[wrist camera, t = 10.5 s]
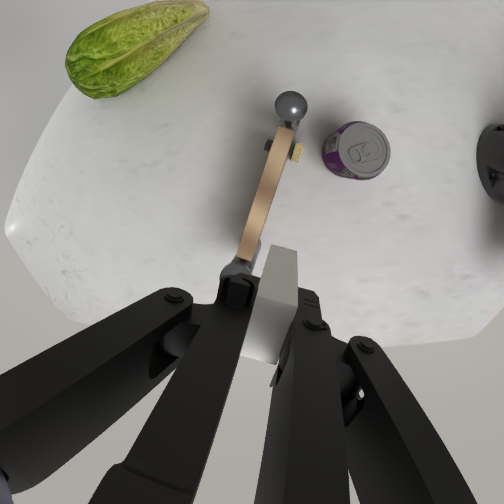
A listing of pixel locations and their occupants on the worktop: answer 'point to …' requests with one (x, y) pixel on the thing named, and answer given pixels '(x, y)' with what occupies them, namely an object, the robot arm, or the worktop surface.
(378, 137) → the beverage can
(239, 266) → the hinge post
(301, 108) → the post
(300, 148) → the tan textured block
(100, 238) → the worktop surface
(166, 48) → the lettuce
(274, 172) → the gate
